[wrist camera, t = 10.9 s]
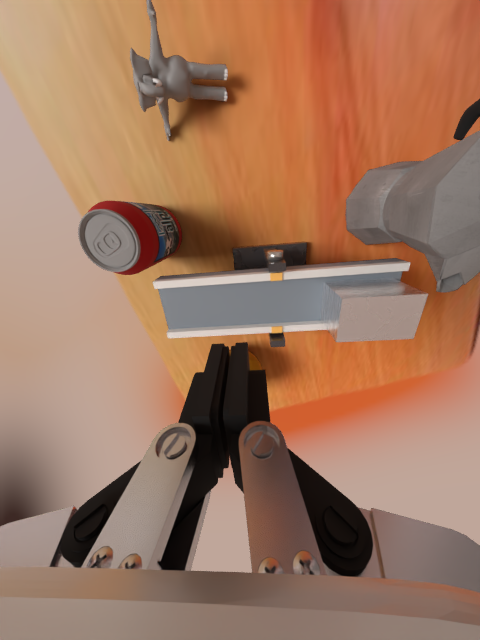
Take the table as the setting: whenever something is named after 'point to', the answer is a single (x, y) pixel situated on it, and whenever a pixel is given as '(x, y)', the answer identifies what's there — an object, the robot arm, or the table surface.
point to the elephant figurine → (172, 76)
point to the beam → (259, 297)
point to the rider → (371, 309)
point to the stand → (271, 265)
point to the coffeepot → (427, 207)
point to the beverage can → (128, 235)
